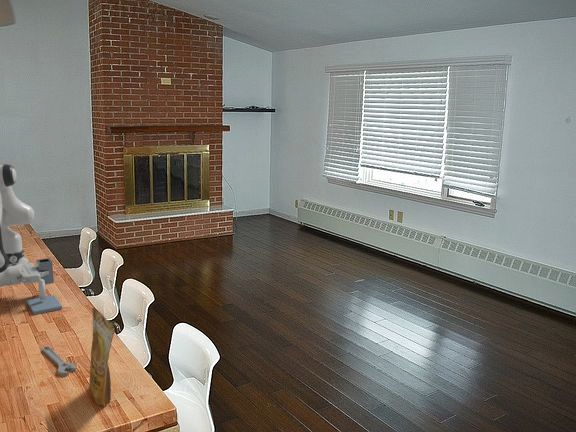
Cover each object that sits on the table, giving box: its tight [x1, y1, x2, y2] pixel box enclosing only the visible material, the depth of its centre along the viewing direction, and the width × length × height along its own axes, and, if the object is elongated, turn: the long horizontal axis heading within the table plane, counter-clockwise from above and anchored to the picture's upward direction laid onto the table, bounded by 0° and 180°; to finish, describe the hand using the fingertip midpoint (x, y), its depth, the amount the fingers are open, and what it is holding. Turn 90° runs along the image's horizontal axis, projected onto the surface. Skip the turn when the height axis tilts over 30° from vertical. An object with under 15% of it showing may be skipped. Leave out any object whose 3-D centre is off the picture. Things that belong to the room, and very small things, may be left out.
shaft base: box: [26, 279, 63, 316], centre depth 250 cm, size 16×12×12 cm
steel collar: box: [35, 257, 55, 285], centre depth 263 cm, size 6×6×11 cm
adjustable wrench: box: [42, 346, 77, 377], centre depth 202 cm, size 25×6×2 cm, turn 38°
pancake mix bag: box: [88, 307, 115, 408], centre depth 178 cm, size 7×19×28 cm, turn 30°
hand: (46, 270), depth 263 cm, fingers closed on steel collar, 6 cm apart
